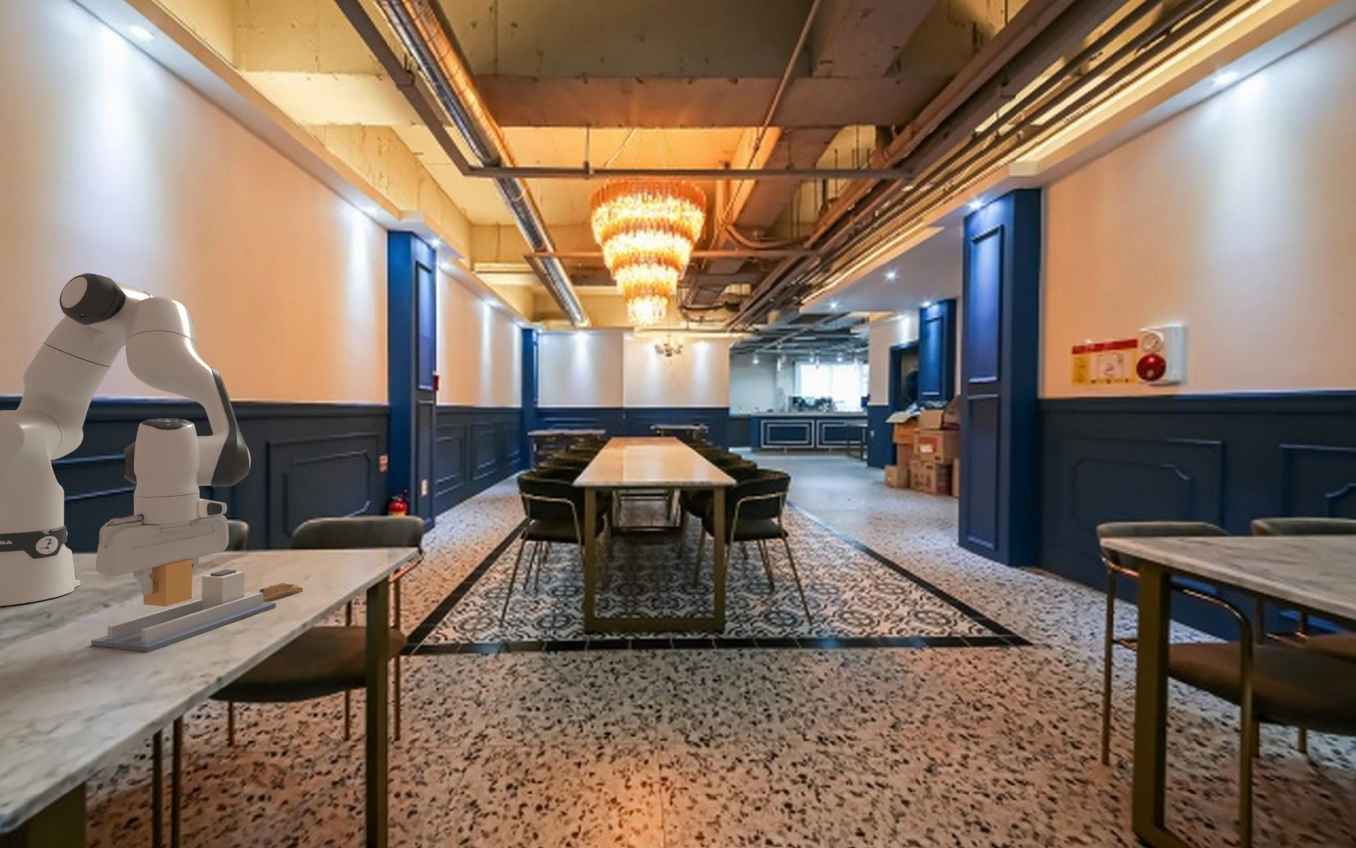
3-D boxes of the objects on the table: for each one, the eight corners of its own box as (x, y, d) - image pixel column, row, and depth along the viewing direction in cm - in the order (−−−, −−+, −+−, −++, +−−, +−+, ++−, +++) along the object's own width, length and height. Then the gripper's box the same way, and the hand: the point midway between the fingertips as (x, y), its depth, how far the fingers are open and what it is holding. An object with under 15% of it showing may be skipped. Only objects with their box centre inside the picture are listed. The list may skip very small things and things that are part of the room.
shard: (257, 607, 122) (258, 598, 122) (229, 604, 124) (229, 595, 124) (304, 593, 132) (304, 585, 132) (277, 590, 135) (277, 582, 135)
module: (143, 604, 104) (143, 562, 104) (170, 596, 109) (169, 556, 108) (165, 606, 103) (165, 563, 103) (191, 598, 108) (191, 557, 108)
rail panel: (91, 645, 100) (91, 596, 100) (226, 602, 123) (227, 562, 123) (148, 651, 98) (149, 601, 97) (275, 607, 121) (276, 566, 121)
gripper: (116, 521, 95) (116, 608, 95) (235, 503, 115) (235, 575, 115) (84, 519, 96) (84, 605, 96) (207, 502, 116) (207, 573, 116)
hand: (167, 588), depth 106 cm, fingers closed on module, 4 cm apart
